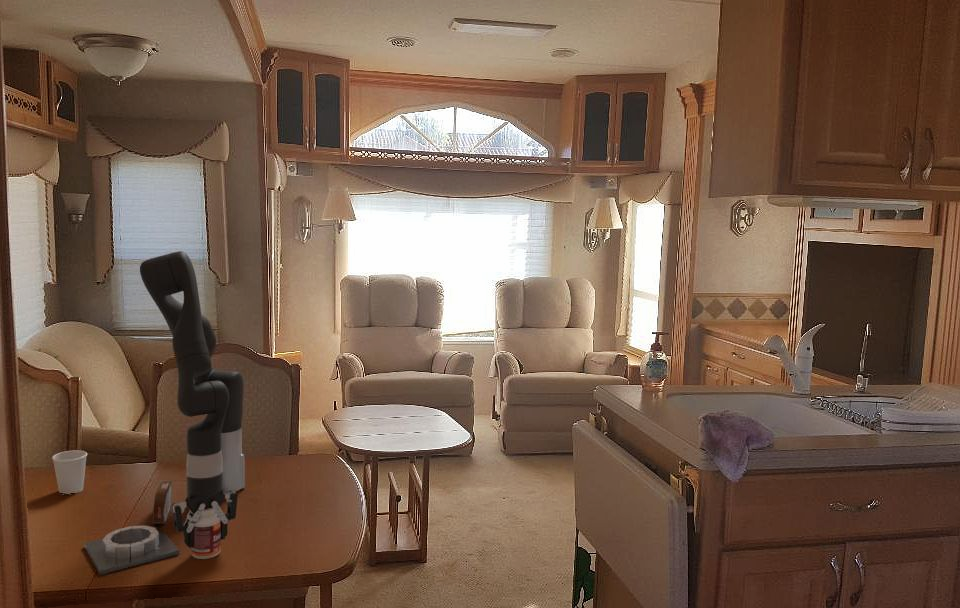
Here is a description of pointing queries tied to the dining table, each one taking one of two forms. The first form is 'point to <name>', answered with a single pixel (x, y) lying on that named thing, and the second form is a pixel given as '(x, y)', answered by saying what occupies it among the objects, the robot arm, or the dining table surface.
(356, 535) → the dining table surface
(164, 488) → the tin
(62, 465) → the dixie cup
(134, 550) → the collar
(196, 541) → the pill bottle
